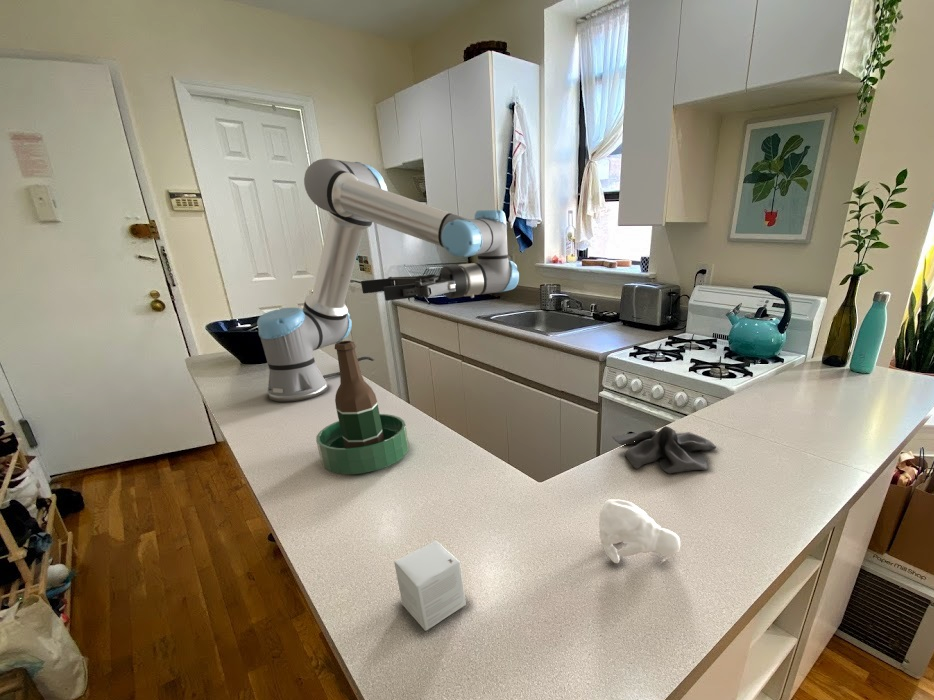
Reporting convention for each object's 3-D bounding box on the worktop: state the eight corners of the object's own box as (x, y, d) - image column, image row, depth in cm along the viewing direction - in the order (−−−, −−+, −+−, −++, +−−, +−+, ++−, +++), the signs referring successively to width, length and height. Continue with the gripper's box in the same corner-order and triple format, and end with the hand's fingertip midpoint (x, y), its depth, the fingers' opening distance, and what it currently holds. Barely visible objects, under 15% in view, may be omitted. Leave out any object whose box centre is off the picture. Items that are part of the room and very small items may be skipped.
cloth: (717, 439, 102) (720, 414, 100) (713, 481, 86) (718, 452, 84) (618, 426, 109) (619, 402, 107) (598, 463, 93) (598, 436, 91)
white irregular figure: (604, 487, 69) (686, 503, 67) (598, 533, 73) (675, 549, 70) (598, 512, 63) (688, 530, 61) (591, 560, 67) (676, 578, 65)
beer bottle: (347, 448, 100) (323, 339, 90) (384, 442, 102) (365, 335, 93) (346, 465, 93) (320, 349, 84) (387, 457, 96) (366, 344, 86)
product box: (442, 581, 64) (436, 538, 61) (467, 605, 60) (461, 561, 57) (401, 605, 60) (392, 560, 57) (424, 633, 56) (416, 586, 53)
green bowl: (348, 436, 107) (343, 413, 104) (420, 438, 105) (417, 414, 103) (305, 475, 91) (297, 448, 89) (389, 478, 90) (384, 450, 87)
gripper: (489, 303, 105) (398, 316, 92) (438, 291, 122) (357, 301, 110) (486, 268, 102) (392, 277, 89) (435, 261, 119) (351, 268, 107)
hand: (372, 290), depth 100 cm, fingers open, 13 cm apart
